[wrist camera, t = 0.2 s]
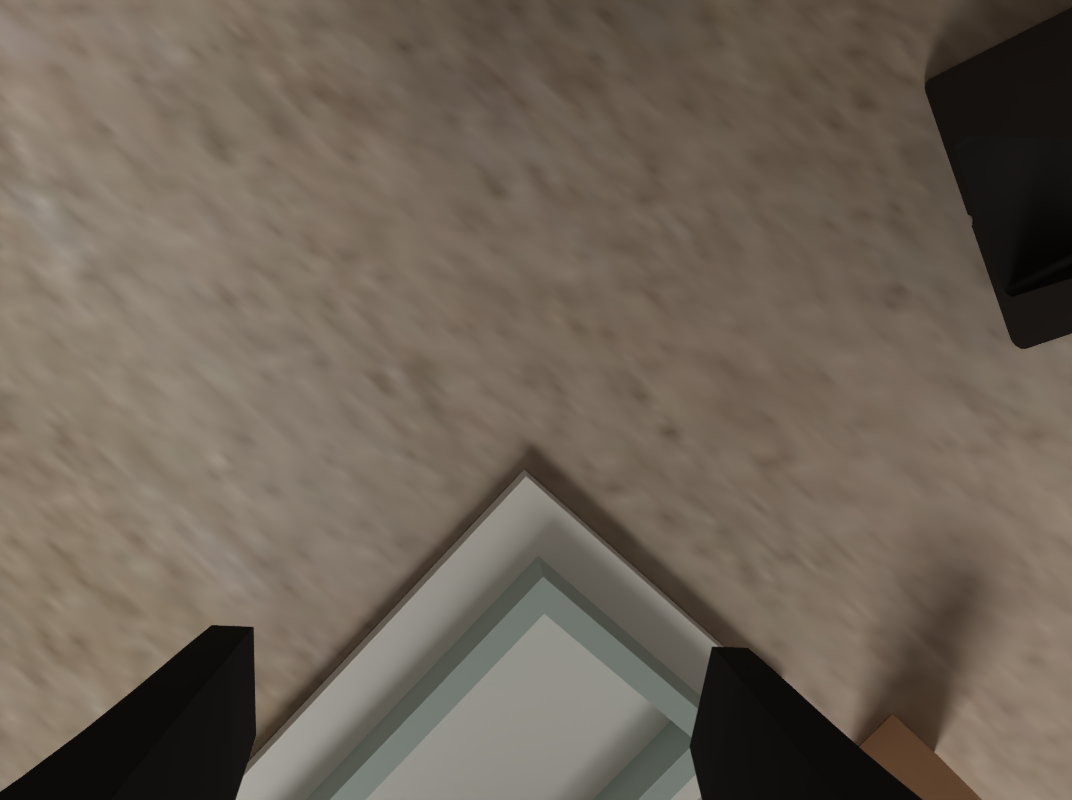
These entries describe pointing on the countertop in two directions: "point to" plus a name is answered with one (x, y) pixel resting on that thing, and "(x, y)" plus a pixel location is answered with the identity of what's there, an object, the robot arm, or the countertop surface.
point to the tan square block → (915, 763)
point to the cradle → (506, 679)
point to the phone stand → (1017, 170)
